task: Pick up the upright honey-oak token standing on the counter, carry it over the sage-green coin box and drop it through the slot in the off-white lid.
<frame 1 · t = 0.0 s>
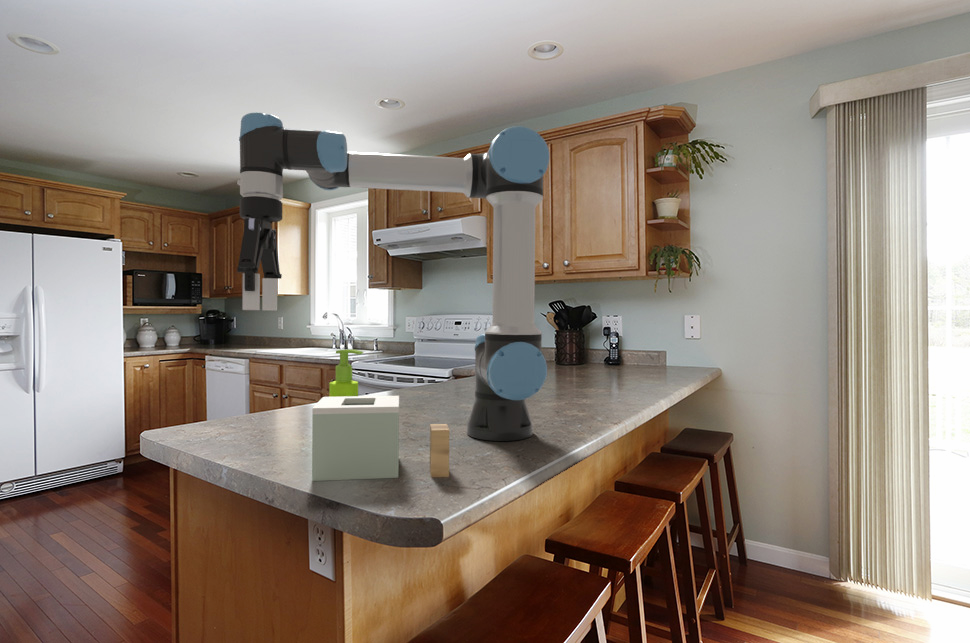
hand: (261, 310, 101), 28 cm above the countertop, fingers open, 13 cm apart
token: (439, 472, 92), on the countertop
coin box: (358, 468, 94), on the countertop
soap dispenser: (345, 445, 111), on the countertop
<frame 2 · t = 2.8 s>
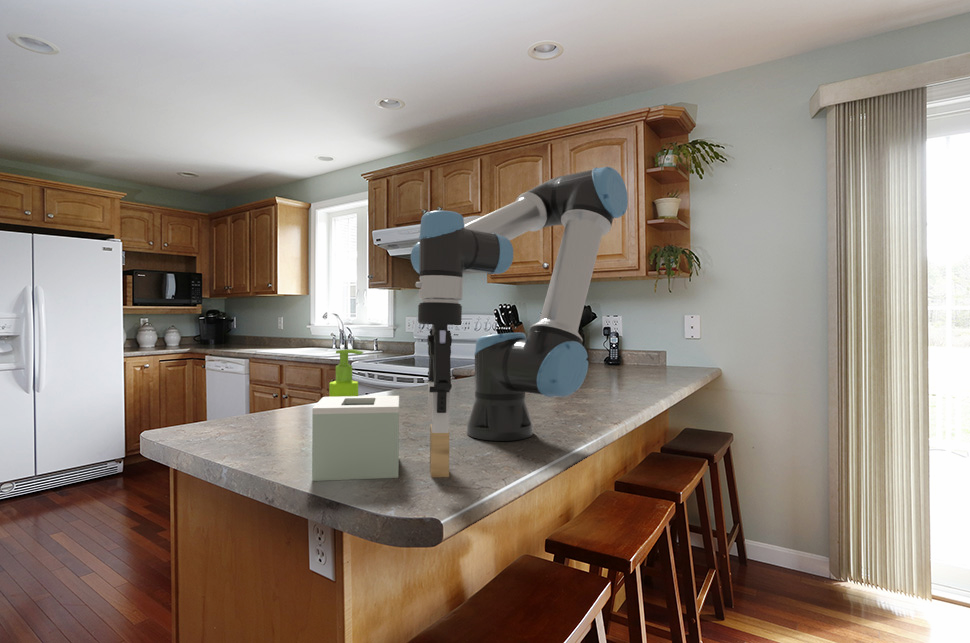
hand: (437, 424, 92), 8 cm above the countertop, fingers open, 13 cm apart
nothing on the countertop moved.
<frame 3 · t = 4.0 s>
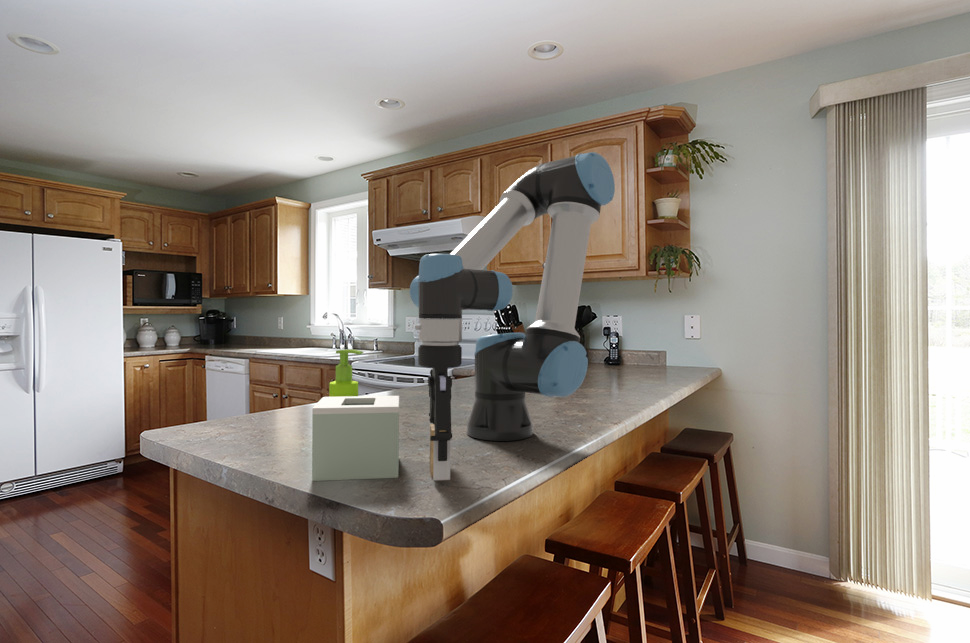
hand: (439, 468, 92), 1 cm above the countertop, fingers open, 11 cm apart
nothing on the countertop moved.
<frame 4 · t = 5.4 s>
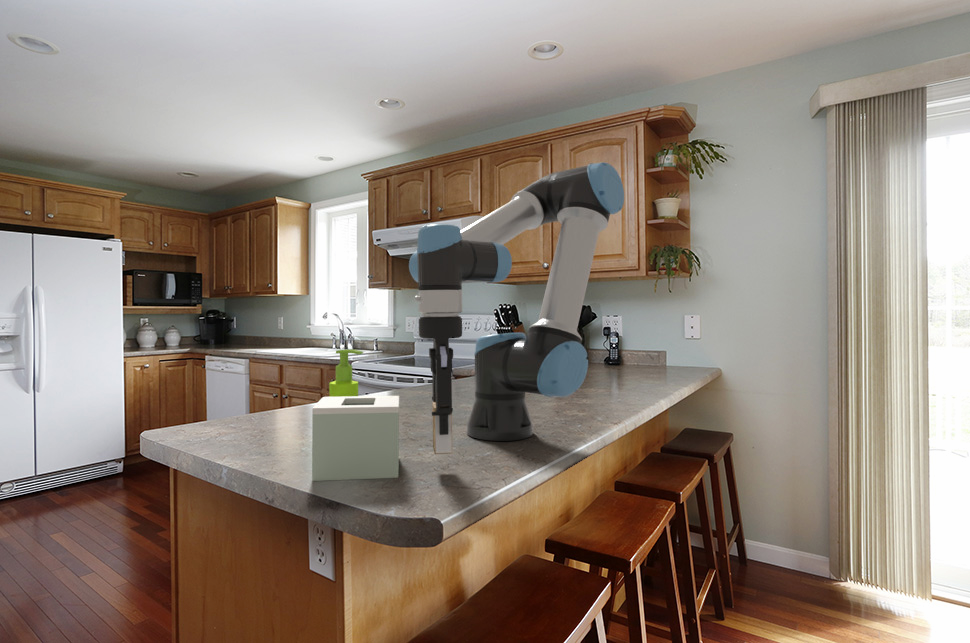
hand: (442, 447, 93), 4 cm above the countertop, fingers closed on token, 5 cm apart
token: (442, 449, 93), point 4 cm above the countertop, touching gripper
everything else where it was.
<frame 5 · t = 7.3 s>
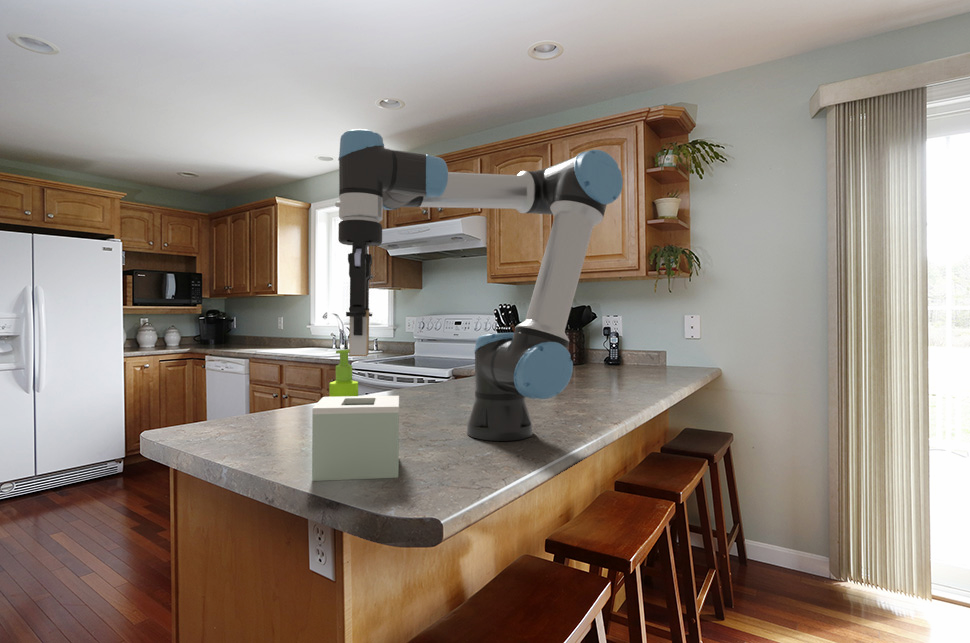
hand: (359, 353, 94), 21 cm above the countertop, fingers closed on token, 5 cm apart
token: (359, 355, 94), point 20 cm above the countertop, touching gripper
everything else where it was.
when the fingers open (13 cm above the countertop, at t = 9.1 s): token drops 12 cm, resting on coin box.
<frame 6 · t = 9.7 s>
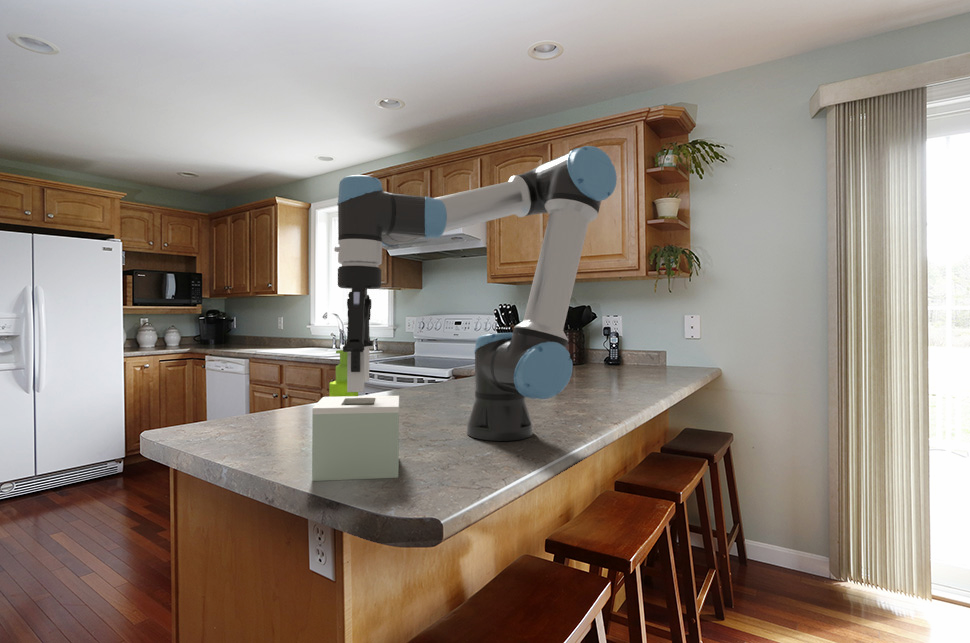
hand: (359, 386, 94), 15 cm above the countertop, fingers open, 13 cm apart
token: (358, 465, 94), point 1 cm above the countertop, touching coin box
everything else where it was.
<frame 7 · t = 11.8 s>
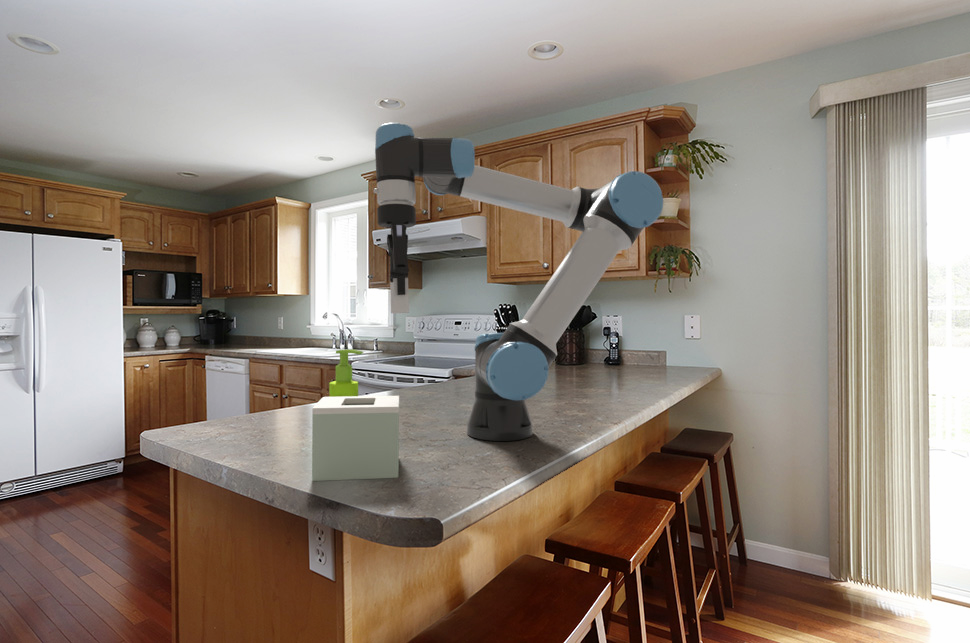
hand: (399, 313, 105), 28 cm above the countertop, fingers open, 13 cm apart
nothing on the countertop moved.
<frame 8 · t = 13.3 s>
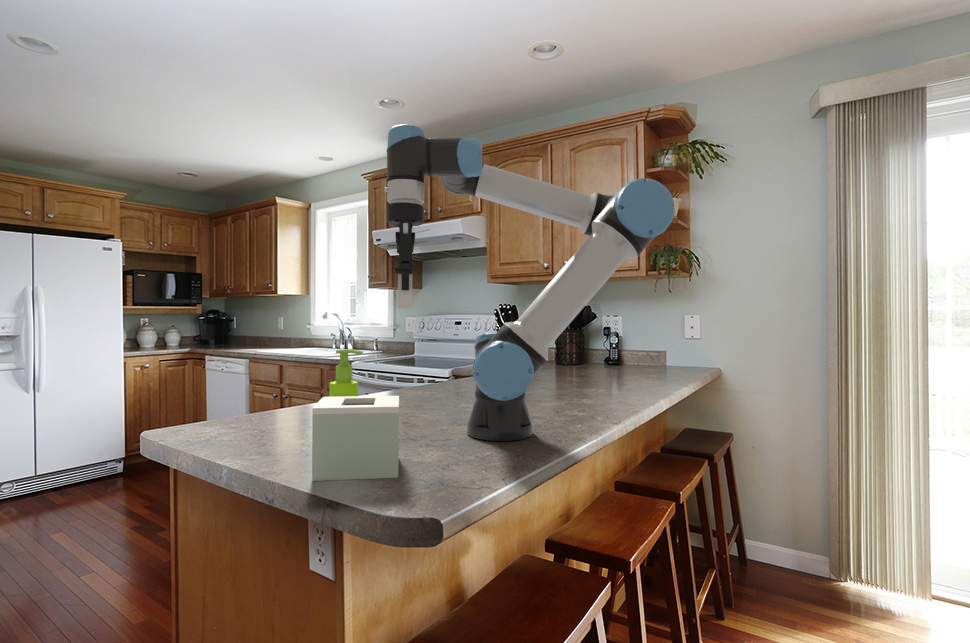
hand: (404, 308, 109), 29 cm above the countertop, fingers open, 13 cm apart
nothing on the countertop moved.
at the end: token inside the target area on the coin box (0.2 cm from its centre), point 0.5 cm above the coin box's base; the gripper is holding nothing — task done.
